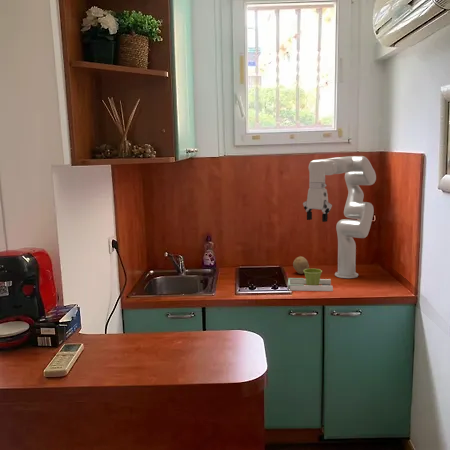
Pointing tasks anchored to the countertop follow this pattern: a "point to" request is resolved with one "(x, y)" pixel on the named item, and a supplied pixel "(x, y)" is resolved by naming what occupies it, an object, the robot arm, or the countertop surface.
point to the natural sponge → (300, 264)
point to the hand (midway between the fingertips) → (316, 220)
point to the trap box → (298, 285)
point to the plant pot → (312, 276)
